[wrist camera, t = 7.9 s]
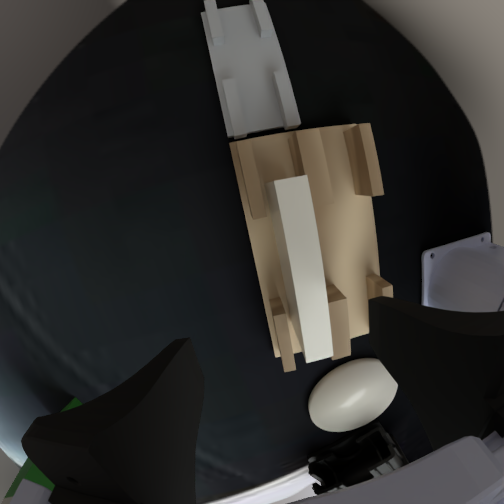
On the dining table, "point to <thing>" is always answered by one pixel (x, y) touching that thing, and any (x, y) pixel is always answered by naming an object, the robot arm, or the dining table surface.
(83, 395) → the dining table surface
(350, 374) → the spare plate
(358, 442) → the end cap
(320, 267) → the white curved panel
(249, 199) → the dish rack
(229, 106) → the plate stand
